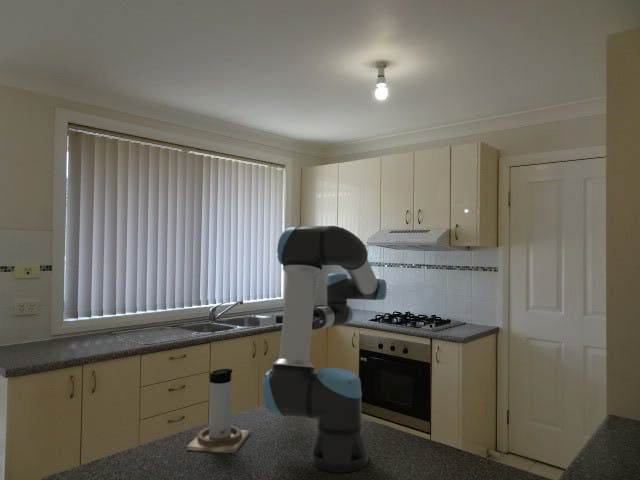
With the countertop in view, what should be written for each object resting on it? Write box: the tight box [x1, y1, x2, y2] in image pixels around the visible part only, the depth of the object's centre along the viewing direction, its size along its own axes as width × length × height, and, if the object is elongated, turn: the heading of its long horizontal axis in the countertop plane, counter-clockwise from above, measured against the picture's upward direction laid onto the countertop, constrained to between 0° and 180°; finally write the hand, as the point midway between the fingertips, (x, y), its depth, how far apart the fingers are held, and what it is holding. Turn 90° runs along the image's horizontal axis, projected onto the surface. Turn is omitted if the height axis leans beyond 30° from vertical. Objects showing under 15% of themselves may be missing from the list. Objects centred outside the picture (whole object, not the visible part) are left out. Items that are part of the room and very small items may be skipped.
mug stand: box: [186, 425, 251, 454], centre depth 138 cm, size 14×14×2 cm
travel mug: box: [208, 368, 233, 440], centre depth 138 cm, size 6×7×20 cm
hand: (273, 324), depth 153 cm, fingers open, 13 cm apart
